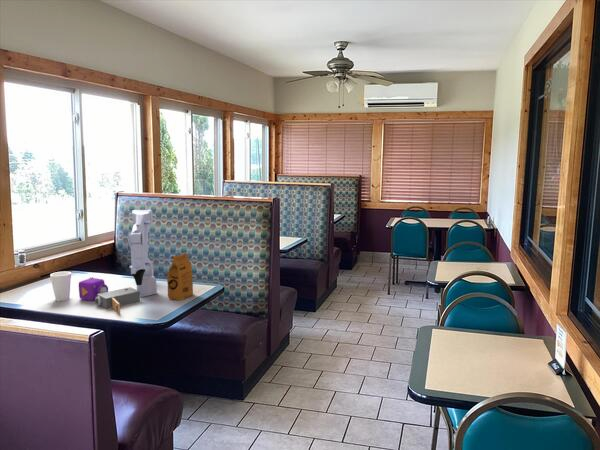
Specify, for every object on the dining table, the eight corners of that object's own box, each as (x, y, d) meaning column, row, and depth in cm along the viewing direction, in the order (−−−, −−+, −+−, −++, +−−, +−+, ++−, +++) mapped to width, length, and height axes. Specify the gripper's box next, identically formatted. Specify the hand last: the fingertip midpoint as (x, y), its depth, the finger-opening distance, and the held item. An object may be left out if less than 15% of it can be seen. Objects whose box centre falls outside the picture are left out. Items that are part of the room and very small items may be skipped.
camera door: (120, 313, 233) (119, 303, 232) (117, 313, 232) (116, 304, 232) (113, 306, 242) (113, 297, 242) (110, 307, 242) (110, 298, 241)
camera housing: (130, 296, 259) (130, 286, 258) (140, 300, 252) (139, 290, 251) (93, 304, 246) (92, 293, 245) (102, 309, 239) (101, 298, 238)
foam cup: (77, 297, 259) (75, 272, 257) (63, 302, 250) (61, 276, 248) (62, 295, 262) (60, 270, 260) (47, 300, 253) (45, 275, 251)
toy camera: (101, 302, 250) (100, 282, 248) (76, 301, 253) (75, 281, 251) (113, 296, 261) (112, 277, 259) (89, 294, 263) (88, 275, 262)
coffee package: (164, 298, 255) (162, 255, 252) (180, 292, 266) (178, 251, 263) (180, 301, 251) (178, 257, 248) (196, 294, 262) (194, 252, 259)
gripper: (134, 254, 251) (135, 280, 254) (123, 260, 237) (125, 289, 239) (148, 254, 251) (149, 280, 253) (138, 260, 237) (140, 289, 239)
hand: (139, 284), depth 246 cm, fingers closed
